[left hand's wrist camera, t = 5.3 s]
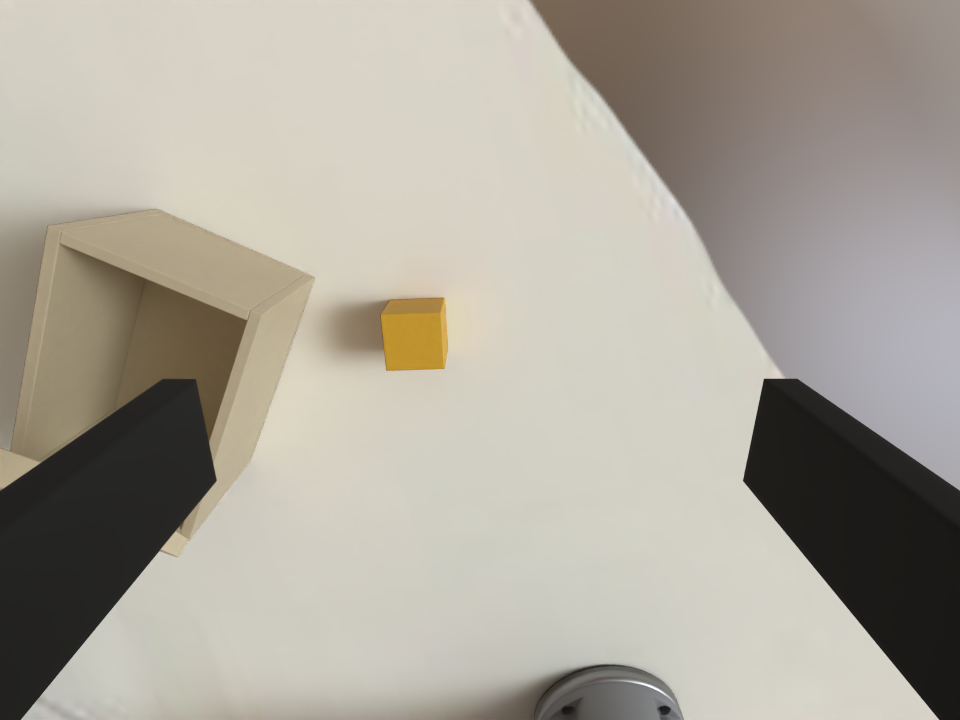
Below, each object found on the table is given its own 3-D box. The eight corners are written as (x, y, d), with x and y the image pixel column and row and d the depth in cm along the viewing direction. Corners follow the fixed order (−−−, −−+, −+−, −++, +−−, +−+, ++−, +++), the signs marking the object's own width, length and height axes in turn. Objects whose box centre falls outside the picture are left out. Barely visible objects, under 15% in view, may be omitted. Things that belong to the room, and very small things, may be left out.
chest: (156, 208, 38) (46, 225, 28) (315, 277, 39) (262, 314, 30) (110, 408, 43) (5, 478, 34) (250, 460, 45) (189, 541, 35)
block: (389, 299, 40) (380, 314, 36) (444, 297, 40) (441, 312, 36) (394, 351, 42) (386, 371, 38) (448, 349, 41) (444, 369, 38)
